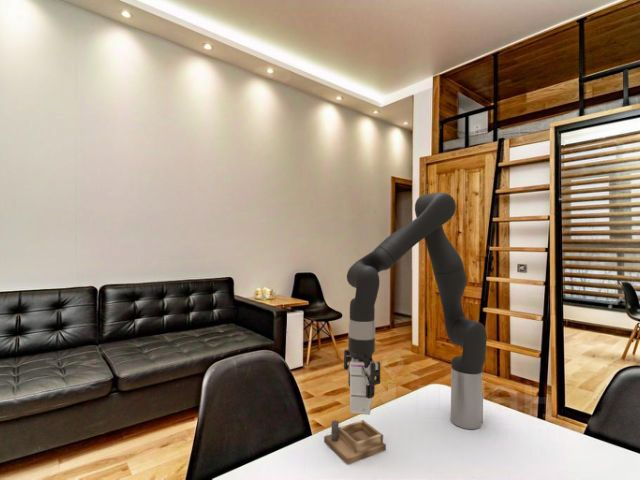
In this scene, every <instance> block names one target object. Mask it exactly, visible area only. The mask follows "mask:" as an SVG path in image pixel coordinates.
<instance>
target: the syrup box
mask: <svg viewBox="0 0 640 480" xmlns="http://www.w3.org/2000/svg"><path fill="white" fill-rule="evenodd" d="M358 361H359V360H358V359H355V360H354V359H351V361H350V387H349V413H351V414H357V415H366V416H370V415H371V411H372V399H373V398H369V399H368V398H367V397H366V385H367V383H366V381H365V378H364V377H363V376H362V373H361V370H362V369H361V366H362V367H363V368H364V370H365V372H366V373H369V374H370V365H369V366H368V368H365V367H364V362H362V361H361V362H358ZM360 364H361V366H360ZM368 377H369V380H371V377H370V375H369V376H368Z"/></svg>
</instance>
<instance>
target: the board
mask: <svg viewBox="0 0 640 480" xmlns="http://www.w3.org/2000/svg"><path fill="white" fill-rule="evenodd" d="M339 423H340V422H339V420H336V419H335V420H332V421H331V434H328V435H325V436H324V437H323V442H324V443H325V445H326V446H328V447H329V448H330V449H331V450H332V451H333V452H334V453H335V454H336V455H337V456H338V457H339V458H340V459H341V460H343V462H344V463H345V464H347V465H350V464H353V463H355V462H358V461H360V460H365V459H366V458H369V457H371V456H375V455H377V454H381V453H382V452H385V451H386V450H387V444H386V443H384V434H383V433H381V432H380V431H378V430H377V429H376V428H374V427H373V426H372V425H370V424H369V423H368V422H367V421H365V420H364V419H362V420H359V421H356V422H352V423H349V424H346V425H342V426H340V427H339Z"/></svg>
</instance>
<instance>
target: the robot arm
mask: <svg viewBox="0 0 640 480" xmlns="http://www.w3.org/2000/svg"><path fill="white" fill-rule="evenodd" d="M456 207H457V205H456V200H455V199H454V197H453V196H452V195H451V194H449V193H446V192H434V193H426V194H422V195H420V196H419V197H418V198H417V199H416V201H415V204H414V213H415V216H416V218H414V219H413V220H412V221H411V222H409V223H408V224H406V225H404V226H402V227H401V228H399V229H398V230H396V231H394V232H392V234H390V235H389V236H387V237H386V238H385V239H383V241H382V242H380V244H378V245H377V246H376V247H375V248H374V249H373V251H371V252H369V253H368V254H365V255H364V256H363V257H362V258H360V259H359V260H357V261H356V262H354V263H353V264H352V265H351V266H350V267H349V269H348V270H347V274H346V280H347V282H348V285H350V286H351V287H353V288H355V295H354V297H353V298H352V299H351V300H350V304H349V322H348V341H347V342H348V344H347V345H348V346H347V349H344V351H343V353H344V354H343V355H344V356H343V369H344V370H346V373H347V374H348V387H349V388H350V361H351V359H354V360H355V359H358V360H359V361H358V362H361V361H362V362H364V367H365V368H368V366H369V365H370V374H369V373H366V372H365V370H364V368H363V367H362V366H361V364H360V366H361V369H362V370H361V373H362V376H363V377H364V378H365V381H366V383H367V385H366V397H367V398H368V399H369V398H372V399H373V398H374V396H375V390H376V389H375V386H377V385H379V384H381V363H380V361H374V360H373V354H374V353H375V352H376V323H375V309H376V308H375V304H376V301H377V298H378V293H379V289H380V276H379V273H380V272H382V271H386V270H387V271H388V270H390V268H392V267H393V266H394V265H395V264H396V263H397V262H398V261H400V259H401V258H403V257H404V256H405V254H407V252H409V251H410V250H411V249H412V248H414V246H415V245H417V244H419V242H422V240H423V239H424V241H425V244H426V248H427V253H428V255H429V259H430V263H431V267H432V272H433V276H434V280H435V282H436V286H437V289H438V294H439V297H440V303H441V305H442V312H443V319H444V326H445V330H446V331H445V332H446V336H447V338H448V340H449V341H450V342H451V343H452V344H454V345H455V346H459V347H461V348H462V354H461V355H458V356H453V357H452V359H451V368H450V369H451V370H450V371H451V372H450V375H451V376H450V413H449V415H450V421H451V423H452V424H454V425H455V426H457V427H460V428H461V429H465V430H477V429H479V428H481V426H482V423H483V422H484V421H483V420H484V393H483V367H484V364H485V361H486V353H487V338H488V337H487V335H488V334H487V329H486V326H484V324H483V323H481V322H479V321H476V320H474V319H470V318H466V316H465V313H464V310H463V306H462V299H463V295H464V293H465V290H466V287H467V286H466V285H467V280H468V279H467V275H466V270H465V267H464V263H463V259H462V257H461V256H460V254H459V252H458V251H457V250H456V249H455V247H454V245H453V244H452V243H451V242H450V240H449V239H448V237H447V234H446V233H445V230H444V227H443V225H445V224H446V223H447V222H449V221H450V220H451V219H452V218H453V216H454V215H455V213H456V209H457V208H456ZM369 375H370V377H371V380H369V377H368V376H369Z"/></svg>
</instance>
